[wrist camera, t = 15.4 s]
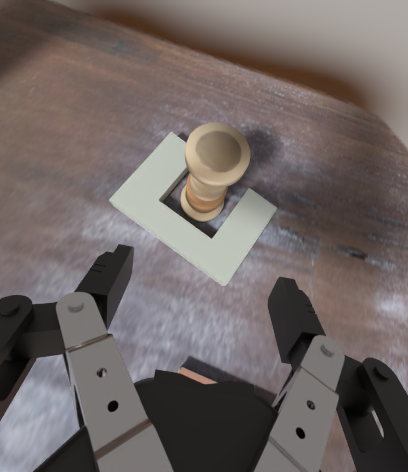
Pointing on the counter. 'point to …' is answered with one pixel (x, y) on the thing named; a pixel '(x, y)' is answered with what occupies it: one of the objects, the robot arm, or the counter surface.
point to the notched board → (181, 231)
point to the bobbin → (212, 168)
